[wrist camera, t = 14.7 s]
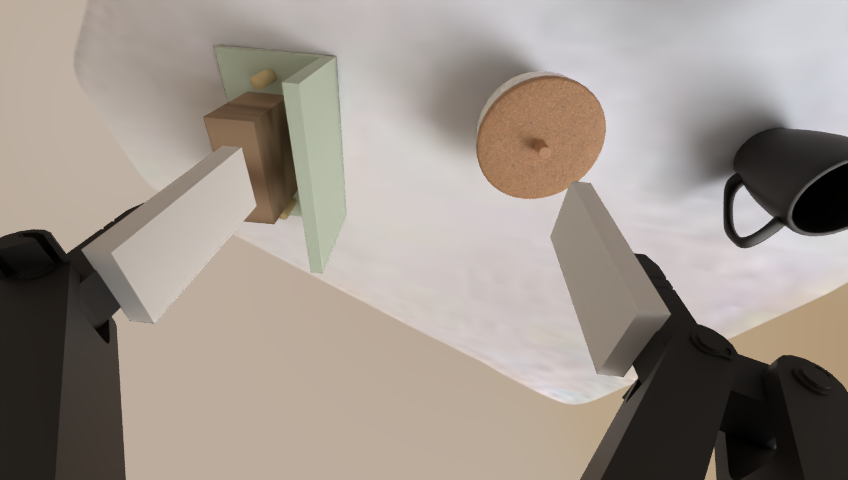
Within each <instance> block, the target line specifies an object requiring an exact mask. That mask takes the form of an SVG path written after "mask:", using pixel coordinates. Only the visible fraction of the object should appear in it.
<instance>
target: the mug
mask: <svg viewBox="0 0 848 480" xmlns="http://www.w3.org/2000/svg"><path fill="white" fill-rule="evenodd" d="M734 169H735V171H736V174H734V175H733V176H731V177H730V178H729V179H728V181H727V182H726V185H725V189H724V229H725V232H726V234H727V236H728V237H729V239H730V240H731V241H732V242H733V243H734V244H736V245H737V246H738V247H740V248H749V247H752V246H755V245H757V244H759V243H761V242H763V241H764V240H766V239H768V238H769V237H771V236H772V235H774V234H775V233H776V232H778V231H779V230H780V229H781V228H783V227H784V226H787V227H788V228H789V229H791V230H792V231H794V232H796V233H798V234H801V235H807V236H824V235H829V234H834V233H838V232H841V231H844V230H847V229H848V137H846V136H842V135H836V134H831V133H825V132H819V131H811V130H799V129H784V128H773V129H769V130H765V131H763V132H760V133H758V134H757V135H755V136H753V137H752V138H750V139H749V140H748V141H746V142H745V143H744V144H743V145H742V146H741V148H740V149H739V150H738V152H737V154H736V156H735V158H734ZM743 185H744V186H745V187H746V189H747V190H748V192H749V193H750V195H751V196H752V197H753V198H754V199H755V201H756V202H757V203H758V204H759V205H760V206H761V207H762V208H764V209H765V210H766V211H767V212H768V213H769V214H770V215H771V216H773V217H774V218H773V219H772V220H771V221H770V222H769V223H768V224H766V225H765V226H764V227H763V228H761V229H760V230H759V231H757V232H755V233H754V234H752V235H750V236H747V237H739V236H738V234H737V233H736V231H735V228H734V223H733V201H734V197H735V194H736V192H737V191H738V190H739V188H741V187H742V186H743Z"/></svg>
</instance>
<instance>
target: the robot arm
mask: <svg viewBox="0 0 848 480" xmlns="http://www.w3.org/2000/svg"><path fill="white" fill-rule="evenodd" d="M256 206H257V205H256V201H255V198H254V194H253V190H252V186H251V182H250V178H249V174H248V171H247V167H246V163H245V159H244V155H243V151H242V147H232V146H221V147H220V148H219V149H217V150H216V151H215V152H213V153H212V154H210V155H209V156H208V157H206V158H205V159H204V160H202V161H201V162H200V163H198V164H197V165H195V166H194V167H193V168H191V169H190V170H189V171H187V172H186V173H185V174H183V175H182V176H181V177H179V178H178V179H176V180H175V181H174V182H172V183H171V184H170V185H168V186H167V187H166V188H164V189H163V190H162V191H160V192H159V193H157V194H156V195H155V196H154V197H152V198H151V199H150V200H148V201H147V202H145V203H142V204H140V205H138V206H136V207H133V208H131V209H129V210H127V211H125V212H124V213H123V214H121V215H120V216H118V217H117V218H116V219H115V220H114V222H113V221H112V222H110V223H109V224H107V225H106V226H105V227H104V229H101V230H99V231H98V232H96V233H95V234H94V235H92V236H91V237H89V238H88V239H86V240H85V241H84V242H82V243H81V244H80V245H78V246H77V247H75V248H74V249H73V250H71V251H70V252H69V253H67V254H66V253H65V252H64V251H63V249H62V248H61V246H60V245H59V243H58V242H57V241H56V239H55V238H54V236H53V235H52V234H51V232H48V231H46V230H35V229H34V230H26V231H19V232H16V233H13V234H9V235H6V236H3V237H1V238H0V480H126V477H125V460H124V443H123V426H122V410H121V394H120V376H119V359H118V343H117V327H116V323H115V321H114V320H113V318H112V317H111V316H112V315H113V314H114V313H115V312H116V311H117V310H118V309H119V308H121V309H122V310H123V312H124V313H125V315H126V316H127V318H128V319H129V321H135V322H143V323H152V324H155V323H156V321H158V319H159V318H160V317H161V316H162V315H163V314H164V312H165V311H166V310H167V309H168V308H169V307H170V306H171V304H172V303H173V302H174V301H175V300H176V299H177V297H178V296H179V295H180V294H181V293H182V292H183V291H184V289H185V288H186V287H187V286H188V285H189V284H190V282H191V281H192V280H193V279H194V278H195V277H196V275H197V274H198V273H199V272H200V271H201V270H202V269H203V267H204V266H205V265H206V264H207V263H208V261H209V260H210V259H211V258H212V257H213V256H214V255H215V253H216V252H217V251H218V250H219V249H220V248H221V247H222V245H223V244H224V243H225V242H226V241H227V239H228V238H229V237H230V236H231V235H232V234H233V233H234V232H235V230H236V229H237V228H238V227H239V226H240V225H241V223H242V222H243V221H244V220H245V219H246V218H247V216H248V215H249V214H250V213H251V212H252V211H253V210H254V208H255V207H256ZM551 240H552V243H553V246H554V249H555V252H556V255H557V258H558V261H559V264H560V267H561V270H562V272H563V275H564V278H565V281H566V284H567V287H568V290H569V293H570V296H571V299H572V302H573V305H574V308H575V311H576V314H577V317H578V320H579V323H580V325H581V328H582V331H583V334H584V337H585V340H586V343H587V346H588V349H589V352H590V355H591V358H592V361H593V364H594V367H595V370H596V373H597V374H602V375H611V376H620V377H624V376H625V374H626V373H627V372H628V370H629V369H630V368H631V366H632V365H633V366H634V368H635V371H636V373H637V375H638V379H637V380H636V381H635V382H634V384H633V385H632V386H631V387H630V388H629V390H628V391H627V392H626V394H625V395H624V396H623V397H622V398H623V399H624V401H623V403H622V405H621V407H620V409H619V411H618V412H617V414H616V416H615V418H614V420H613V421H612V423H611V425H610V427H609V429H608V430H607V432H606V434H605V436H604V437H603V439H602V441H601V443H600V445H599V447H598V448H597V450H596V452H595V454H594V455H593V458H592V459H591V461H590V463H589V464H588V467H587V468H586V470H585V472H584V473H583V475H582V477H581V479H580V480H704V479H705V476H706V473H707V469H708V466H709V462H710V458H711V455H712V452H713V449H714V448H715V462H716V477H717V480H848V392H847V390H846V389H845V387H844V386H843V385H842V384H841V383H840V382H839V381H838V380H837V379H836V378H835V377H834V376H833V375H832V374H830V373H829V372H828V371H827V370H824V369H823V368H822V367H820V366H819V365H816V364H814V363H812V362H810V361H808V360H806V359H803V358H800V357H796V356H792V355H783V356H781V357H780V358H778V359H777V360H776V361H774V362H773V363H772V364H771V365H768V364H766V363H763V362H760V361H757V360H754V359H751V358H748V357H745V356H742V355H739V354H738V353H737V352H736V350H735V348H734V347H733V345H732V344H731V343H730V342H729V341H728V340H727V339H726V338H725V337H723V336H722V335H720V334H719V333H717V332H716V331H714V330H712V329H710V328H707V327H705V326H703V325H699V324H697V323H696V321H695V320H694V318H693V317H692V315H691V314H690V312H689V311H688V309H687V308H686V306H685V305H684V303H683V302H682V300H681V299H680V297H679V296H678V294H677V293H676V291H675V290H673V287H672V285H671V284H670V283H669V281H668V280H666V277H665V275H664V274H663V272H662V271H661V269H660V268H659V266H658V265H657V264H656V263H654V262H653V261H652V260H651V259H650V258H648V257H647V256H646V255H644V254H635V253H633V251H632V250H631V248H630V246H629V245H628V243H627V242H626V240H625V238H624V237H623V235H622V233H621V232H620V230H619V229H618V227H617V225H616V224H615V222H614V220H613V219H612V217H611V216H610V214H609V212H608V211H607V209H606V207H605V206H604V204H603V203H602V201H601V199H600V198H599V196H598V194H597V193H596V191H595V190H594V188H593V186H592V185H591V183H585V182H575V181H571V182H570V185H569V188H568V190H567V193H566V196H565V199H564V201H563V204H562V207H561V209H560V212H559V215H558V218H557V220H556V223H555V226H554V229H553V231H552V234H551Z"/></svg>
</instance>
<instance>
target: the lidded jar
mask: <svg viewBox="0 0 848 480" xmlns="http://www.w3.org/2000/svg"><path fill="white" fill-rule="evenodd" d="M605 132H606V123H605V117H604V112H603V109H602V107H601V105H600V103H599V101H598V100H597V98H596V97H595V95H594V94H593V93H592V92H590V91H589V90H588V89H587V88H586V87H585V86H583V85H582V84H580V83H578V82H577V81H574V80H572V79H570V78H568V77H566V76H563V75H561V74H558V73H553V72H548V71H535V72H528V73H524V74H521V75H518V76H515V77H513V78H511V79H509V80H508V81H506V82H505V83H503V84H502V85H501V86H500V87H498V88H497V89H496V90H495V91H494V92H493V94H492V95H491V96H490V97H489V99H488V100H487V102H486V104H485V105H484V107H483V109H482V111H481V114H480V116H479V120H478V124H477V132H476V142H477V143H476V149H477V158H478V161H479V165H480V168H481V170H482V172H483V174H484V176H485V177H486V179H487V180H488V181H489V182H490V183H491V184H492V185H493V186H494V187H495V188H497V189H498V190H500V191H501V192H503V193H505V194H507V195H510V196H513V197H517V198H524V199H536V198H543V197H547V196H551V195H554V194H557V193H559V192H562V191H563V190H565V189H567V188H569V185H570V182H571V181H575V182H578V181H579V180H580V179H581V178H582V177H583V176H584V175H585V174H586V173H587V172H588V171H589V170H590V168H591V167H592V166H593V164H594V163H595V161H596V160H597V158H598V156H599V154H600V152H601V150H602V146H603V143H604V139H605Z"/></svg>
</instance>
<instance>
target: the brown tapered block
mask: <svg viewBox="0 0 848 480" xmlns="http://www.w3.org/2000/svg"><path fill="white" fill-rule="evenodd" d="M203 118H204V121H205V125H206V128H207V132H208V135H209V139H210V142H211V146H212V149H213V152H215V151H216V150H217V149H219V148H220V147H221V146H232V147H242V151H243V155H244V159H245V163H246V167H247V171H248V174H249V178H250V182H251V186H252V190H253V194H254V198H255V201H256V205H257V206H256V207H255V208H254V210H253V211H252V212H251V213H250V214H249V215H248V216H247V218H246V219H245V220H244V221H245V222H256V223H267V224H275V222H276V221H277V220H278V218H279V217H280V215H281V214H282V212H283V211H284V209H285V208H286V206H287V205H288V203H289V202H290V201H291V199H292V198H293V196H294V195H295V193H296V192H297V190H298V186H297V179H296V173H295V166H294V160H293V153H292V147H291V140H290V134H289V127H288V121H287V114H286V108H285V101H284V95H278V94H268V93H258V92H248V91H247V92H246V93H244V94H242V95H240V96H239V97H237V98H235V99H234V100H232V101H230V102H228V103H227V104H225V105H223V106H222V107H220V108H218V109H216V110H215V111H213V112H211V113H209V114H208V115H206V116H204V117H203Z"/></svg>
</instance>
